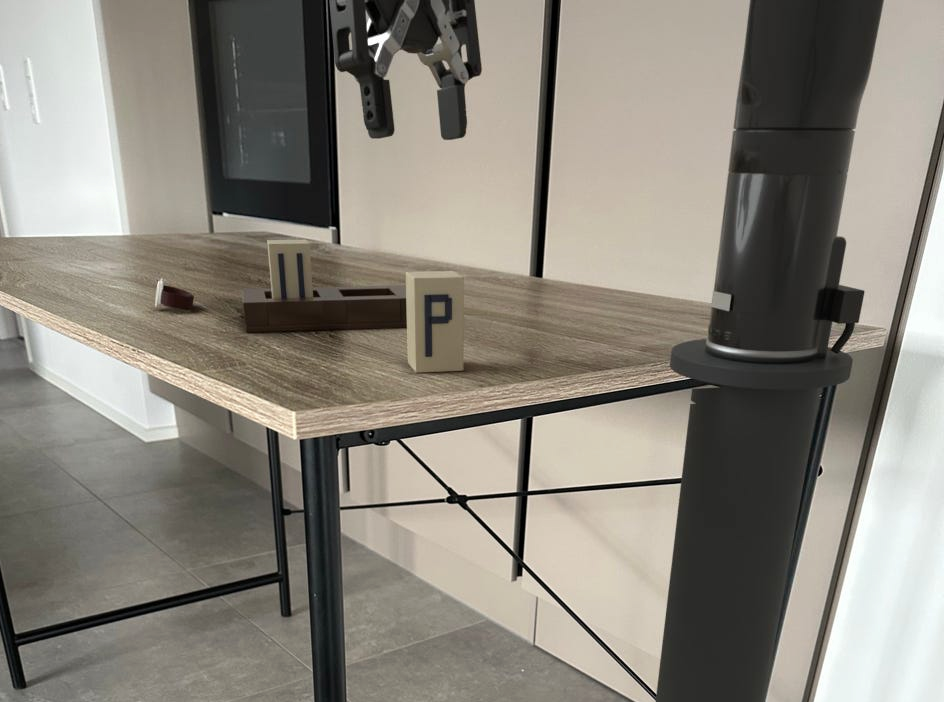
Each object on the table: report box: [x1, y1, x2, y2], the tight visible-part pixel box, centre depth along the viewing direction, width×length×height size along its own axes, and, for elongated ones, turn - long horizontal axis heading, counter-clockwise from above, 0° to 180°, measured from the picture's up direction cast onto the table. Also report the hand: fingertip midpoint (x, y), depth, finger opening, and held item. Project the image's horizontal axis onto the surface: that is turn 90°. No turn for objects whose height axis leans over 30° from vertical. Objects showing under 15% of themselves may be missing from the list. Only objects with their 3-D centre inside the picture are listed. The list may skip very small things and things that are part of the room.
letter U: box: [266, 239, 314, 299], centre depth 105 cm, size 4×5×8 cm
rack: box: [241, 284, 407, 333], centre depth 107 cm, size 20×11×3 cm, turn 102°
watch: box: [154, 277, 195, 311], centre depth 115 cm, size 8×5×4 cm, turn 20°
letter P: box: [405, 270, 465, 374], centre depth 84 cm, size 4×5×8 cm
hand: (419, 138), depth 75 cm, fingers open, 8 cm apart
